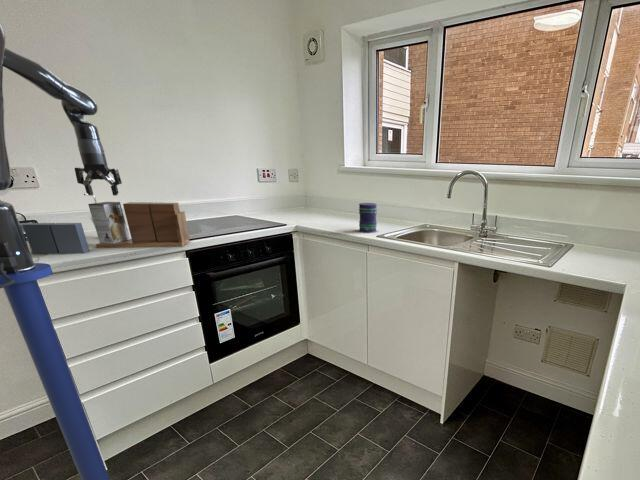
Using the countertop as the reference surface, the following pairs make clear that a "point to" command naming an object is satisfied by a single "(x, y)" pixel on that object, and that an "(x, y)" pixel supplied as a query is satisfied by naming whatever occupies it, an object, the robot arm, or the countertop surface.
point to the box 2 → (165, 221)
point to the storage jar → (367, 217)
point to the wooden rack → (182, 236)
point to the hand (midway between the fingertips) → (103, 195)
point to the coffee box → (109, 222)
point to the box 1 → (140, 221)
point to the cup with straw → (89, 211)
